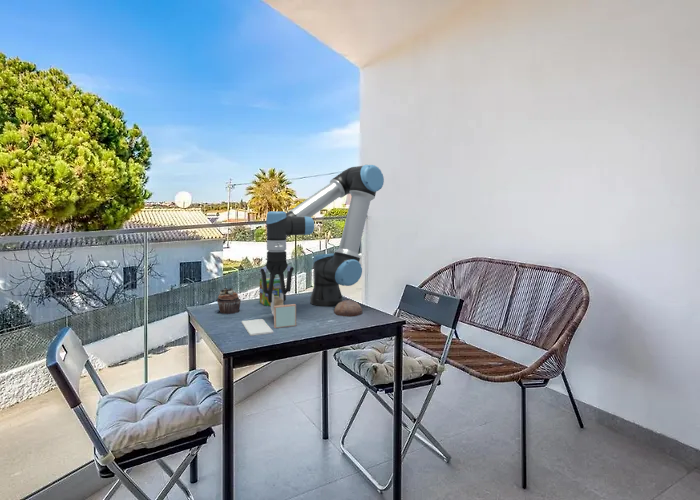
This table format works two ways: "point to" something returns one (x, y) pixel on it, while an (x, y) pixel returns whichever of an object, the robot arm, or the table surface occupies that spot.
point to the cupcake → (228, 301)
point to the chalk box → (275, 291)
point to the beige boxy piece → (277, 302)
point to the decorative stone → (348, 308)
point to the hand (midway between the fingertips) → (277, 309)
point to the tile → (284, 316)
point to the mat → (257, 327)
